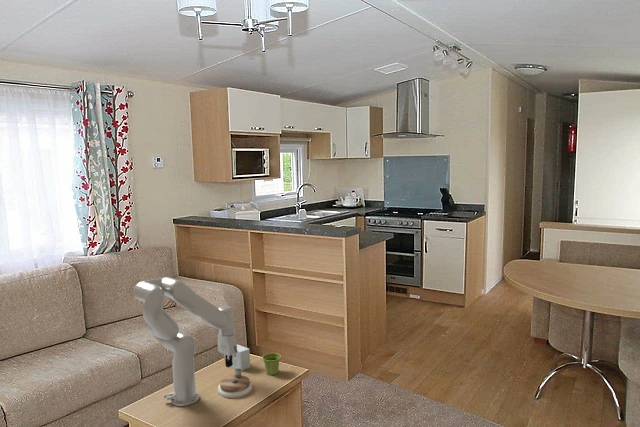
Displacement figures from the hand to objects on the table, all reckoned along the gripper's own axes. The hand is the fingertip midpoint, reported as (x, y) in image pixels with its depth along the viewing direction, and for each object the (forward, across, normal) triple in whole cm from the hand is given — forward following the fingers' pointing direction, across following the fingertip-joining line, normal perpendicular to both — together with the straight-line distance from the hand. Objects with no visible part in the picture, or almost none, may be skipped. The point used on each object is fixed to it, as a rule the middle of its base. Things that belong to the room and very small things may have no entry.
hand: (229, 366), depth 232 cm
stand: (+7, +10, -5) cm, 13 cm away
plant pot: (+8, +12, +18) cm, 23 cm away
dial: (+5, +10, -5) cm, 12 cm away
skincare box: (+8, -7, +13) cm, 17 cm away
